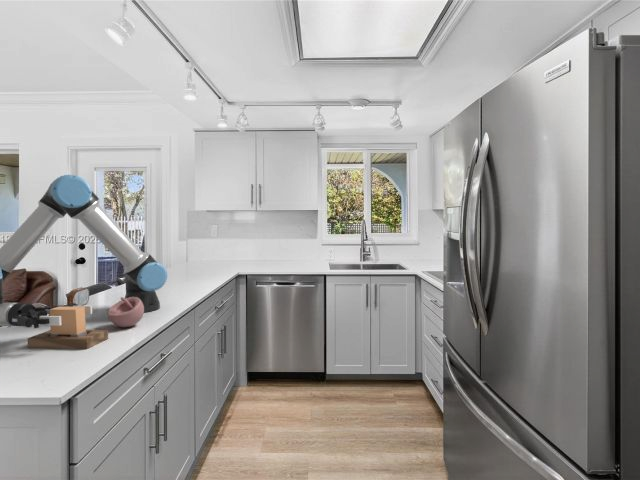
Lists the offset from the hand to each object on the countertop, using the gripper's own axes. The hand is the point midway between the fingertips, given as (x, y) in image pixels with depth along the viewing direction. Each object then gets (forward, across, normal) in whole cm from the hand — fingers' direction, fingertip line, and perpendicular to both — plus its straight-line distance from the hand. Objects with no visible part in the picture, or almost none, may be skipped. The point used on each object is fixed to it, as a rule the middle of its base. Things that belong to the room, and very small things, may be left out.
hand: (76, 315), depth 124 cm
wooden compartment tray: (-3, 0, -9) cm, 10 cm away
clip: (-3, 0, -9) cm, 10 cm away
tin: (-38, -50, -10) cm, 64 cm away
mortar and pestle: (+4, -19, -10) cm, 22 cm away
